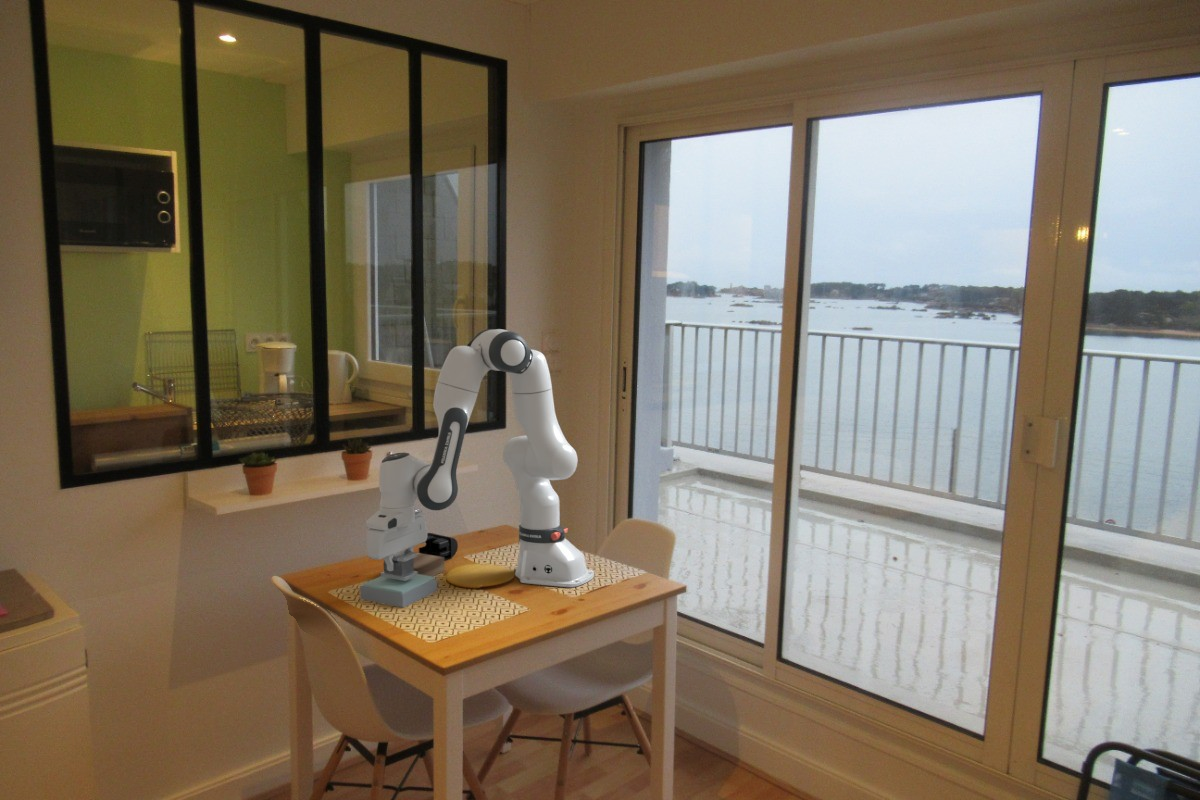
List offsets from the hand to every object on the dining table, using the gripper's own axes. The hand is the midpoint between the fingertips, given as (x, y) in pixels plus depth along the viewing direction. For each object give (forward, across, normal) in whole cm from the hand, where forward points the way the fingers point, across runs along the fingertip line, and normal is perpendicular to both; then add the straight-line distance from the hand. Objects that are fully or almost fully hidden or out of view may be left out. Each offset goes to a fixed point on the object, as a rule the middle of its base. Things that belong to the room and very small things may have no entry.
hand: (399, 567), depth 222 cm
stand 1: (+8, -16, -8) cm, 19 cm away
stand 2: (+8, 0, 0) cm, 8 cm away
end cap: (+8, -32, -12) cm, 35 cm away
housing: (+2, 0, 0) cm, 2 cm away
